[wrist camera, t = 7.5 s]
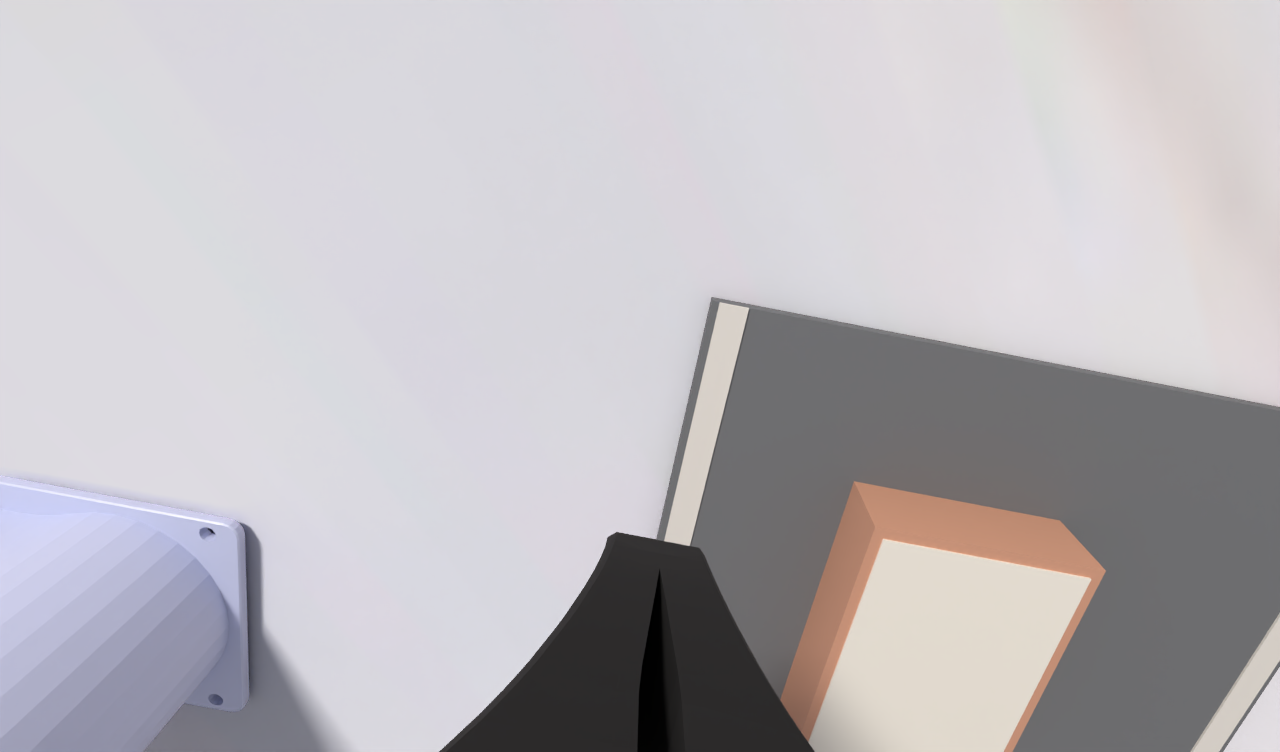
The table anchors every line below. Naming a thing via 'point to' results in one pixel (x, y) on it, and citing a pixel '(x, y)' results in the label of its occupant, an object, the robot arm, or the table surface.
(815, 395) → the mat
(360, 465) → the table surface
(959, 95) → the table surface
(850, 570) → the card box
